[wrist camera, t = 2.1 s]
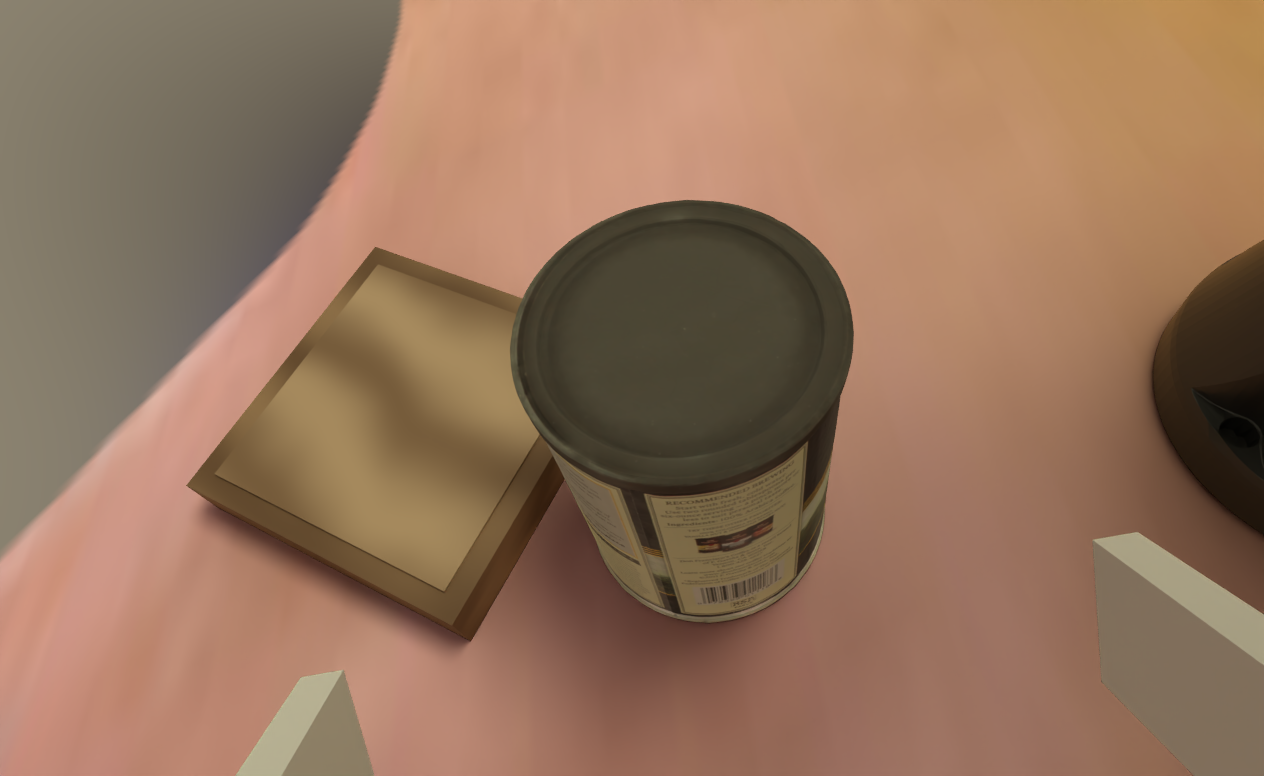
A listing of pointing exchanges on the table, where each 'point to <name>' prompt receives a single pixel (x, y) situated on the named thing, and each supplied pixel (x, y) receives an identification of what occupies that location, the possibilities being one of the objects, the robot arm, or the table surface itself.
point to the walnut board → (396, 443)
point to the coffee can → (690, 398)
